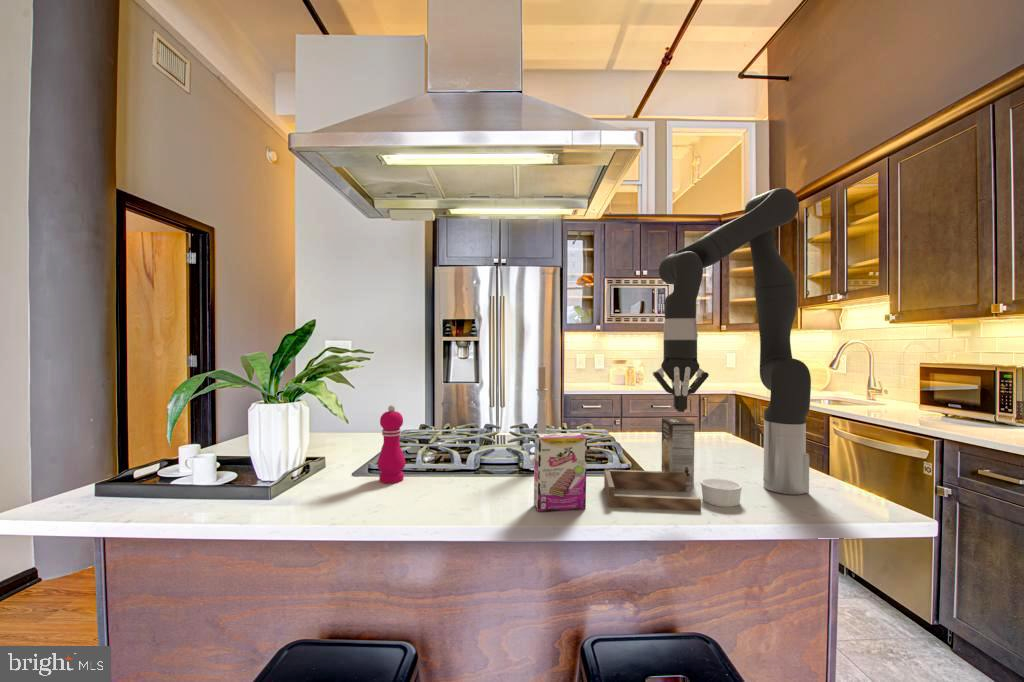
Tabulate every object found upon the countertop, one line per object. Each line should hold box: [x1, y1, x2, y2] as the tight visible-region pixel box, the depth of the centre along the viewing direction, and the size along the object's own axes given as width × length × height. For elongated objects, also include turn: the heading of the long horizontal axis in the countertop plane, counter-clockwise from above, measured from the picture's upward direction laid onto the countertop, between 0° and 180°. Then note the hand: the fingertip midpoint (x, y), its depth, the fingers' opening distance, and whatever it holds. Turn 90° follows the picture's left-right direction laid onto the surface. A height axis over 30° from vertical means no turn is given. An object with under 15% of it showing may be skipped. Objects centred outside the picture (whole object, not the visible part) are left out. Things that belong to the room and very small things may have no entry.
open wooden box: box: [603, 469, 702, 511], centre depth 115 cm, size 20×14×4 cm
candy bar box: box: [533, 432, 588, 512], centre depth 108 cm, size 11×5×16 cm, turn 100°
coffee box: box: [661, 417, 696, 486], centre depth 130 cm, size 9×6×16 cm
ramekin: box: [700, 477, 743, 508], centre depth 113 cm, size 9×9×4 cm
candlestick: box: [519, 366, 549, 468], centre depth 143 cm, size 13×13×30 cm
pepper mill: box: [377, 404, 406, 484], centre depth 128 cm, size 7×7×20 cm
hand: (680, 411), depth 114 cm, fingers closed
